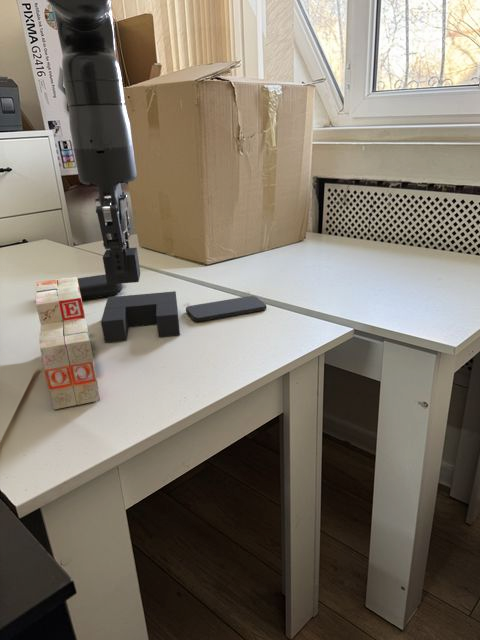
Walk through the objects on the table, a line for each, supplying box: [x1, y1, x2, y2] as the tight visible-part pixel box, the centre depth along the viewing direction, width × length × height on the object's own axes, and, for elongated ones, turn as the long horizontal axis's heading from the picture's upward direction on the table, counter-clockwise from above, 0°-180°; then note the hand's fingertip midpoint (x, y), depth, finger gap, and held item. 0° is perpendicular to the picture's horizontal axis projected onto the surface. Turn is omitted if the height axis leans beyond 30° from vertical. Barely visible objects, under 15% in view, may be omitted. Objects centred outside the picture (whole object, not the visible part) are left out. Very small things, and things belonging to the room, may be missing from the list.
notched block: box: [100, 290, 181, 343], centre depth 94 cm, size 13×13×4 cm
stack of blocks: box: [35, 276, 101, 410], centre depth 75 cm, size 21×6×12 cm, turn 21°
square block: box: [102, 247, 141, 285], centre depth 73 cm, size 4×4×4 cm
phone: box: [185, 295, 267, 322], centre depth 100 cm, size 7×1×15 cm
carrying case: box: [77, 273, 124, 301], centre depth 112 cm, size 11×3×15 cm
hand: (122, 270), depth 74 cm, fingers closed on square block, 4 cm apart
